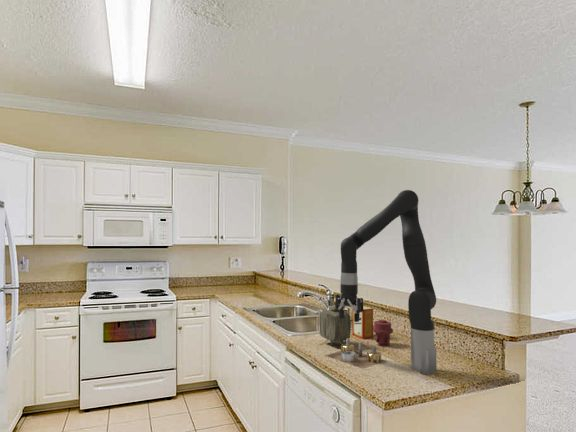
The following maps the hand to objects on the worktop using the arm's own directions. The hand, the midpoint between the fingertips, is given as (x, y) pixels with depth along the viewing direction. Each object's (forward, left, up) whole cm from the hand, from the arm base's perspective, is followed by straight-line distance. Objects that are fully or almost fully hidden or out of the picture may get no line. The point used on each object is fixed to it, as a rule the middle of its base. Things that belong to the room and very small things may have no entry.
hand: (348, 320), depth 172 cm
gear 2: (-8, -8, -17) cm, 20 cm away
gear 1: (+7, -8, -17) cm, 20 cm away
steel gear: (0, 0, -17) cm, 17 cm away
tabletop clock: (+20, -12, -18) cm, 29 cm away
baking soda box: (+24, -39, -18) cm, 49 cm away
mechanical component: (+7, -34, -18) cm, 39 cm away
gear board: (0, -4, -18) cm, 18 cm away
